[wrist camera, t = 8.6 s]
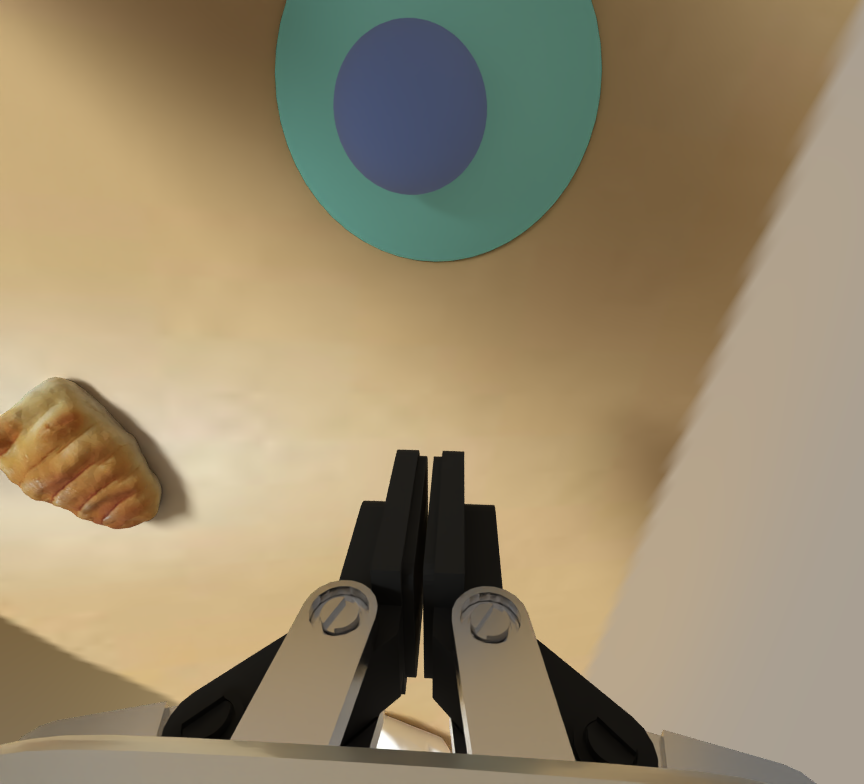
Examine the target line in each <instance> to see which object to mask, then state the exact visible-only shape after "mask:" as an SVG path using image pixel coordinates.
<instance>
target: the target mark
mask: <svg viewBox="0 0 864 784" xmlns="http://www.w3.org/2000/svg"><path fill="white" fill-rule="evenodd" d="M398 18H418V19H423V20H428V21H431V22H433V23H436V24H438V25H440V26H442V27H444V28H445V29H447V30H448V31H450V32H451V33H453V34H454V35H455V36H456V37H457V38H458V39H459V40H460V41H461V42H462V43H463V44H464V45H465V46H466V47H467V49H468V50H469V52H470V53H471V54H472V56H473V58H474V59H475V61H476V63H477V65H478V67H479V70H480V72H481V75H482V78H483V82H484V86H485V90H486V98H487V119H486V126H485V131H484V135H483V138H482V141H481V144H480V147H479V149H478V151H477V153H476V155H475V157H474V158H473V160H472V161H471V163H470V164H469V166H468V167H467V168H466V169H465V170H464V172H463V173H462V174H461V175H460V176H458V177H457V178H456V179H455V180H454V181H452V182H451V183H449V184H448V185H446V186H444V187H442V188H441V189H438V190H436V191H433V192H429V193H425V194H419V195H405V194H399V193H395V192H391V191H388V190H386V189H383V188H381V187H379V186H377V185H376V184H374V183H373V182H371V181H370V180H368V179H367V178H366V177H365V176H364V175H363V174H362V173H361V172H360V171H359V170H358V169H357V168H356V167H355V166H354V165H353V163H352V162H351V160H350V159H349V157H348V156H347V154H346V152H345V150H344V148H343V146H342V144H341V142H340V139H339V136H338V133H337V129H336V125H335V119H334V109H333V99H334V90H335V84H336V79H337V76H338V73H339V70H340V67H341V65H342V63H343V61H344V59H345V57H346V55H347V54H348V52H349V50H350V49H351V48H352V46H353V45H354V44H355V43H356V42H357V40H358V39H359V38H360V37H362V36H363V35H364V34H365V33H367V32H368V31H369V30H371V29H372V28H374V27H375V26H377V25H379V24H381V23H384V22H387V21H390V20H393V19H398ZM601 75H602V62H601V43H600V37H599V31H598V25H597V19H596V15H595V12H594V8H593V5H592V1H591V0H287V1H286V5H285V8H284V12H283V15H282V19H281V22H280V28H279V34H278V40H277V46H276V62H275V82H276V98H277V104H278V110H279V115H280V121H281V125H282V128H283V132H284V135H285V139H286V142H287V145H288V148H289V150H290V152H291V155H292V157H293V160H294V162H295V164H296V167H297V168H298V170H299V172H300V174H301V176H302V177H303V179H304V181H305V183H306V185H307V186H308V187H309V189H310V190H311V192H312V193H313V195H314V196H315V197H316V199H317V200H318V202H319V203H320V204H321V205H322V206H323V207H324V208H325V209H326V211H327V212H328V213H329V214H330V215H331V216H332V217H333V218H334V219H335V220H336V221H337V222H339V223H340V224H341V225H342V226H343V227H344V228H345V229H347V230H348V231H349V232H351V233H352V234H354V235H355V236H357V237H358V238H360V239H361V240H363V241H364V242H366V243H368V244H370V245H372V246H374V247H376V248H378V249H380V250H382V251H385V252H388V253H391V254H394V255H396V256H399V257H404V258H409V259H414V260H421V261H434V262H437V261H454V260H459V259H464V258H469V257H474V256H477V255H480V254H483V253H486V252H489V251H491V250H493V249H495V248H497V247H500V246H502V245H504V244H506V243H508V242H509V241H511V240H512V239H514V238H516V237H517V236H519V235H520V234H522V233H523V232H525V231H526V230H527V229H528V228H529V227H531V226H532V225H533V224H534V223H535V222H537V221H538V220H539V219H540V218H541V217H542V216H543V215H544V214H545V213H546V212H547V211H548V210H549V209H550V207H551V206H552V205H553V204H554V203H555V202H556V201H557V199H558V198H559V196H560V195H561V194H562V192H563V191H564V190H565V188H566V187H567V186H568V184H569V182H570V181H571V179H572V177H573V175H574V174H575V172H576V170H577V168H578V166H579V165H580V162H581V160H582V158H583V155H584V153H585V151H586V148H587V146H588V144H589V140H590V137H591V134H592V130H593V127H594V124H595V120H596V115H597V110H598V104H599V99H600V90H601Z"/></svg>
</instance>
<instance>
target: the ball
mask: <svg viewBox="0 0 864 784" xmlns="http://www.w3.org/2000/svg"><path fill="white" fill-rule="evenodd" d="M333 109H334V119H335V125H336V129H337V133H338V136H339V139H340V142H341V144H342V146H343V148H344V150H345V152H346V154H347V156H348V157H349V159H350V160H351V162H352V163H353V165H354V166H355V167H356V168H357V169H358V170H359V171H360V172H361V173H362V174H363V175H364V176H365V177H366V178H367V179H368V180H370V181H371V182H373V183H374V184H376V185H377V186H379V187H381V188H383V189H386V190H388V191H391V192H395V193H399V194H405V195H419V194H425V193H429V192H433V191H436V190H438V189H441V188H442V187H444V186H446V185H448V184H449V183H451V182H452V181H454V180H455V179H456V178H457V177H458V176H460V175H461V174H462V173H463V172H464V170H465V169H466V168H467V167H468V166H469V164H470V163H471V161H472V160H473V158H474V157H475V155H476V153H477V151H478V149H479V147H480V144H481V141H482V138H483V135H484V131H485V126H486V119H487V98H486V90H485V86H484V82H483V78H482V75H481V72H480V70H479V67H478V65H477V63H476V61H475V59H474V58H473V56H472V54H471V53H470V52H469V50H468V49H467V47H466V46H465V45H464V44H463V43H462V42H461V41H460V40H459V39H458V38H457V37H456V36H455V35H454V34H453V33H451V32H450V31H448V30H447V29H445V28H444V27H442V26H440V25H438V24H436V23H433V22H431V21H428V20H423V19H418V18H398V19H393V20H390V21H387V22H384V23H381V24H379V25H377V26H375V27H374V28H372V29H371V30H369V31H368V32H367V33H365V34H364V35H363V36H362V37H360V38H359V39H358V40H357V42H356V43H355V44H354V45H353V46H352V48H351V49H350V50H349V52H348V54H347V55H346V57H345V59H344V61H343V63H342V65H341V67H340V70H339V73H338V76H337V79H336V84H335V90H334V99H333Z"/></svg>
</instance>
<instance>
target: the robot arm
mask: <svg viewBox="0 0 864 784" xmlns="http://www.w3.org/2000/svg"><path fill="white" fill-rule="evenodd" d="M422 611H423V625H424V678H433V699H434V700H435V701H436V702H437V703H438V704H439V706H440V707H441V708H442V709H443V710H444V711H445V712H446V713H447V714H448V716H449V717H450V735H451V743H452V752H453V753H443V752H427V751H411V750H395V749H378V748H376V747H377V744H378V740H379V737H380V733H381V730H382V726H383V723H384V716H385V709H386V708H387V707H388V706H390V705H391V704H392V703H393V702H394V701H396V700H397V699H398V698H399V697H400V696H401V694H405V691H406V682H407V677H415V678H416V676H417V667H418V656H419V644H420V633H421V622H422ZM0 784H816V783H815V782H813V781H812V780H811V779H809V778H808V777H807V776H805V775H804V774H803V773H802V772H800V771H797V770H795V769H793V768H790V767H788V766H786V765H784V764H781V763H777V762H774V761H770V760H767V759H763V758H760V757H756V756H753V755H749V754H746V753H743V752H739V751H736V750H732V749H729V748H725V747H722V746H718V745H715V744H711V743H708V742H704V741H700V740H697V739H694V738H690V737H687V736H683V735H680V734H676V733H673V732H669V731H666V730H663V732H662V735H661V736H660V735H657V734H653V733H649V732H646V731H645V730H644V728H643V727H642V726H641V725H640V724H639V723H638V722H637V721H636V720H635V719H634V718H633V717H632V716H631V715H629V714H628V713H627V712H625V711H624V710H623V709H622V708H621V707H620V706H618V705H617V704H616V703H614V702H613V701H612V700H611V699H610V698H608V697H607V696H606V695H605V694H604V693H602V692H601V691H600V690H599V689H598V688H596V687H595V686H594V685H593V684H591V683H590V682H589V681H588V680H586V679H585V678H584V677H583V676H582V675H580V674H579V673H578V672H577V671H575V670H574V669H573V668H572V667H571V666H569V665H568V664H567V663H566V662H564V661H563V660H562V659H561V658H559V657H558V656H557V655H556V654H555V653H553V652H552V651H551V650H550V649H548V648H547V647H546V646H545V645H544V644H542V643H541V642H540V641H539V640H537V639H536V636H535V633H534V630H533V627H532V624H531V621H530V618H529V615H528V612H527V610H526V608H525V606H524V604H523V603H522V602H521V601H520V600H519V599H518V598H517V597H516V596H515V595H513V594H511V593H510V592H508V591H506V590H504V589H503V588H502V577H501V566H500V555H499V544H498V534H497V523H496V512H495V506H494V505H474V504H464V452H460V451H443V453H442V457H434V461H433V471H432V482H431V492H430V502H429V513H428V459H427V456H420V453H419V450H397V453H396V457H395V462H394V466H393V471H392V475H391V479H390V484H389V488H388V493H387V497H386V501H363V502H362V505H361V508H360V511H359V515H358V518H357V521H356V525H355V528H354V532H353V535H352V539H351V542H350V545H349V549H348V552H347V556H346V559H345V563H344V566H343V569H342V573H341V576H340V580H339V581H335V582H330V583H328V584H326V585H324V586H321V587H319V588H318V589H317V590H316V591H314V592H313V593H312V594H310V596H309V597H308V598H307V600H306V601H305V602H304V604H303V606H302V608H301V610H300V611H299V613H298V615H297V617H296V619H295V621H294V622H293V624H292V626H291V628H290V630H289V632H288V633H287V634H286V635H284V636H282V637H281V638H279V639H278V640H276V641H274V642H273V643H271V644H270V645H268V646H267V647H265V648H263V649H262V650H260V651H259V652H257V653H255V654H254V655H252V656H251V657H249V658H248V659H246V660H244V661H243V662H241V663H240V664H238V665H236V666H235V667H233V668H232V669H230V670H229V671H227V672H225V673H224V674H222V675H221V676H219V677H218V678H216V679H214V680H213V681H211V682H210V683H208V684H206V685H205V686H203V687H202V688H200V689H199V690H197V691H195V692H194V693H193V694H191V695H190V696H189V697H187V698H186V699H185V700H184V701H182V702H181V703H180V704H179V706H173V707H168V704H167V702H160V703H154V704H148V705H143V706H137V707H131V708H125V709H120V710H114V711H109V712H103V713H97V714H91V715H85V716H80V717H74V718H69V719H62V720H57V721H53V722H50V723H47V724H44V725H42V726H39V727H37V728H36V729H34V730H33V731H31V732H29V733H27V734H26V735H24V736H23V737H21V738H20V739H19V740H18V741H17V742H12V743H7V744H2V745H0Z"/></svg>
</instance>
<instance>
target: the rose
mask: <svg viewBox="0 0 864 784" xmlns="http://www.w3.org/2000/svg"><path fill="white" fill-rule="evenodd" d="M376 748H378V749H395V750H411V751H427V752H443V753H451V751H450V750H449V748H448V746H447V744H446V743H445V742H444V740H443V739H442V738H441V737H439V736H437V735H435V734H432V733H430V732H427V731H424V730H422V729H419V728H416V727H414V726H412V725H409V724H407V723H404V722H402V721H399V720H397V719H394V718H392V717H389V716H387V715H385V716H384V723H383V726H382V730H381V733H380V737H379V740H378V744H377V747H376Z"/></svg>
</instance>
